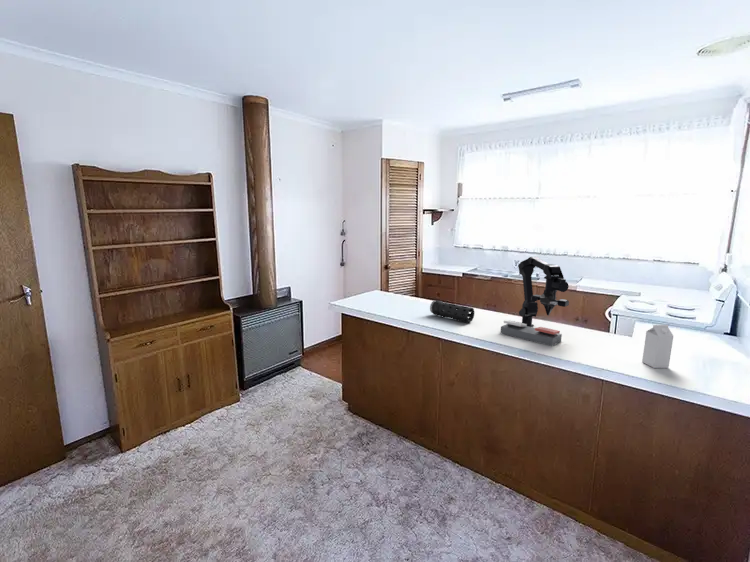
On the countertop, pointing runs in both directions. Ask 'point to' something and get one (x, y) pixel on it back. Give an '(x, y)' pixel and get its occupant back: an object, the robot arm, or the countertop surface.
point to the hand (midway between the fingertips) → (548, 315)
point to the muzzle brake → (452, 311)
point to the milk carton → (658, 346)
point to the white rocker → (515, 323)
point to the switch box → (531, 334)
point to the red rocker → (547, 330)
